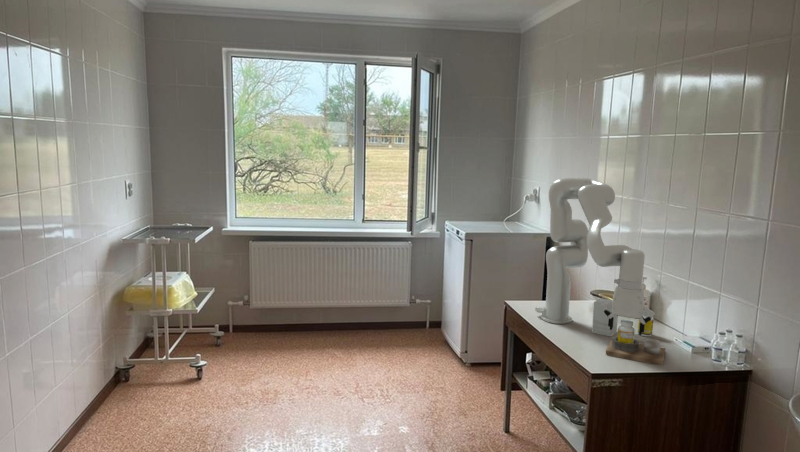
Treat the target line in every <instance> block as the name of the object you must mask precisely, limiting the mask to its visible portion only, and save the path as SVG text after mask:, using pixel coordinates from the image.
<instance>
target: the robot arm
mask: <svg viewBox="0 0 800 452" xmlns="http://www.w3.org/2000/svg"><path fill="white" fill-rule="evenodd" d="M568 200H578V202H579V203H580V206H581V209H582V210H583V211H582V212H583V213H584V215H585V218H586V220H587V222H588V226H589V227H588V226H587V224H586V223H585V222H584V221H583V220H582V219H576V218H575V219H574V218H573V217H572V216H573V209H572V206H571V204H570V202H569V201H568ZM615 200H616V193H615V191H614V189H613V188H612V186H610V185H609V184H608V183H603V182H601V181H597V180H596V179H595V180H594V179H591V178H587V177H585V178H584V177H583V178H580V177H578V178H575V177H573V178H572V177H570V178H569V177H568V178H567V177H564V178H558V179H557V180H555V181H553V182H552V183H551V185H550V186H549V188H548V202H549V208H550V214H549V215H550V217H549V218H550V221H549V223H550V226H549V235H550V238H551V240H552V241H553V242H555V243H570V245H566V244H565V245H556V246H552V247H550V248H549V249H548V250H547V251H546V253H545V261H546V269H547V270H546V271H547V274H546V276H547V278H546V279H547V280H546V291H545V292H546V293H545V295H546V297H545V306H543V307H540V306H535V308H534V309H535V312H536V313H537V314H538V313H539V314H541V315H540V317H541V318H540V319H541V320H542V321H545V322H546V323H551V324H554V325H555V324H557V325H566V324H570V323H572V322H573V317H572V316H570V314H569V313H570V300H571V299H570V296H571V286H572V285H571V283H572V281H571V279H572V278H571V276H570V273H569V272H568V269H575V268H577V269H578V268H581V267H584V266H585V265H586V264H587V261H588V257H589V254H590V256H591V258H592V260H593V262H594V263H595V264H596V265H598V266H600V267H603V268H604V267H605V268H608V267H619V275H618V279H616V278H615V279H614V280H613V281H614V282H613V283H614V284H617V285H616V286H615V289H614V293H613V296H612V300H613V301H611V302H608V303H605V304H602V308H603V310H604V313H605V314H606V315H607V317H608V318H609V321H608V326H609V327H610V330H612V328H613V321H614V318H613V316H614V315H617V316H618V317H623V318H628V319H635V320H638V319H639V320H640V322H641V323H640V328H639V334H638V335H639V336H641V334H642V332H643V333H644V327H645V323H647V322H649V321H650V320H651V319H652V317H653V318H654V316H655V314H656V313H655V312H654V311H653V310H651V309H650V308H649V307H647V306H646V305H645V293H644V289H643V288H642V287H643V286H642V285H643V277H644V276H643V275H644V265H645V258H646V257H645V256H646V255H645V252H644V251H642V250H640V249H633V248H631V247H629V246H627V245H623V244H613V245H610V244H609V245H605V243H604V241H603V238H602V235H601V230H602V229H603V228H605V227H606V226H608V225H609V224H611V223H612V220H613V216H612V214H611V211H610V210H609V207H608V206H611V205H612V204H613V203H614V202H615ZM609 306H612V312H611V313H610V312H609V311H608V310H607V307H609ZM644 311H645V312H647V313H648V314H649V316H648V317H646V318H644V317H643V312H644Z"/></svg>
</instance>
